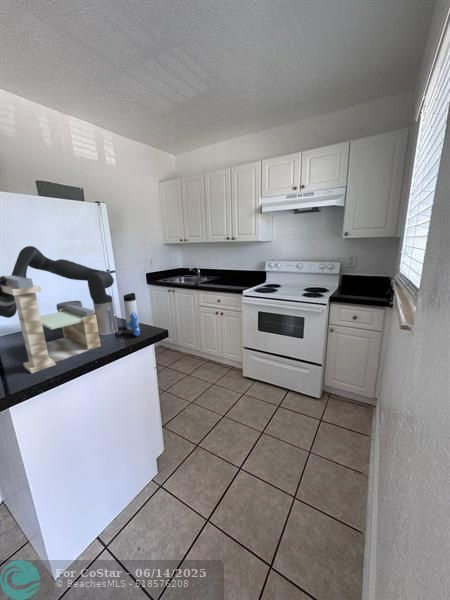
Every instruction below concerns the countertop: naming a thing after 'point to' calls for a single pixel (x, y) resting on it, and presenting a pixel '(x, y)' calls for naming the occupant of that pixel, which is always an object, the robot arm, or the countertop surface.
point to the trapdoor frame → (75, 339)
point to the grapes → (134, 324)
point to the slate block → (18, 282)
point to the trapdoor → (66, 317)
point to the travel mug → (130, 306)
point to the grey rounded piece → (61, 305)
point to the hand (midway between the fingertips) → (12, 277)
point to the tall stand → (31, 327)
